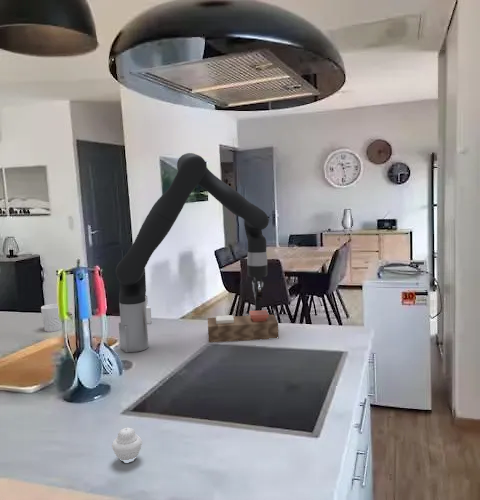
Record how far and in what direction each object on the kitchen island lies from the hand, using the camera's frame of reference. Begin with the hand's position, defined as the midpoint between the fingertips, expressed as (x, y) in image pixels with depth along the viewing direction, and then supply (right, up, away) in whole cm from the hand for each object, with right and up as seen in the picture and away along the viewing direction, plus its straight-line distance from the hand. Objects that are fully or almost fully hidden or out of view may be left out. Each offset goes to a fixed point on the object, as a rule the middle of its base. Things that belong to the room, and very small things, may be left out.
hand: (258, 308), depth 182 cm
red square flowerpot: (0, -7, +1) cm, 8 cm away
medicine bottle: (-49, -9, +23) cm, 55 cm away
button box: (-6, -11, +1) cm, 12 cm away
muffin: (-31, -22, -81) cm, 89 cm away
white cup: (-85, -11, +17) cm, 87 cm away
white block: (-13, -9, 0) cm, 16 cm away
